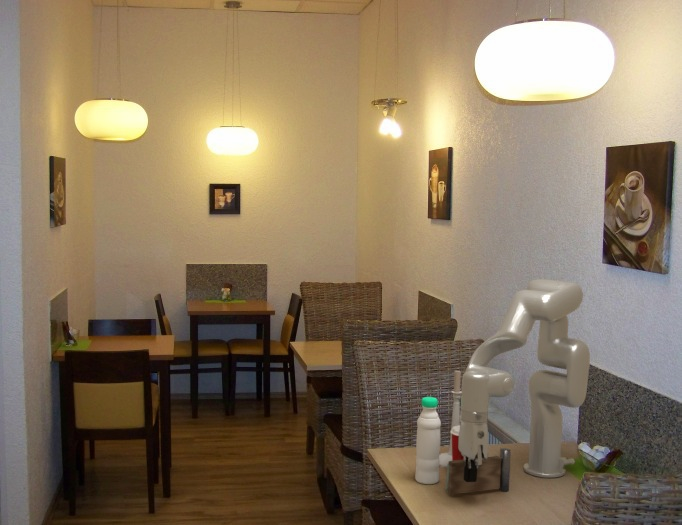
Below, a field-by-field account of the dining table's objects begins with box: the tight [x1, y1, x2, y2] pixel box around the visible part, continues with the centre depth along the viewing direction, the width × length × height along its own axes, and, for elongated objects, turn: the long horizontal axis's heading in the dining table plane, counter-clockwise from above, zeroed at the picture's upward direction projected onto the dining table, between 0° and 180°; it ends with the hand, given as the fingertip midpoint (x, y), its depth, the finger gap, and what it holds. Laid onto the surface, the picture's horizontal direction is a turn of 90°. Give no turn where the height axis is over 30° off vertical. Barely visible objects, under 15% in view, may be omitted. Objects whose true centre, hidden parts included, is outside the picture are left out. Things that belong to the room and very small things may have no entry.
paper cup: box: [449, 426, 464, 461], centre depth 250 cm, size 8×8×14 cm
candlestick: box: [439, 370, 462, 469], centre depth 259 cm, size 13×13×30 cm
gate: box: [447, 455, 502, 495], centre depth 233 cm, size 16×2×9 cm, turn 111°
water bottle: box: [414, 396, 442, 485], centre depth 242 cm, size 7×7×25 cm
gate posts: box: [446, 447, 512, 493], centre depth 235 cm, size 18×3×12 cm, turn 99°
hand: (470, 480), depth 228 cm, fingers closed
